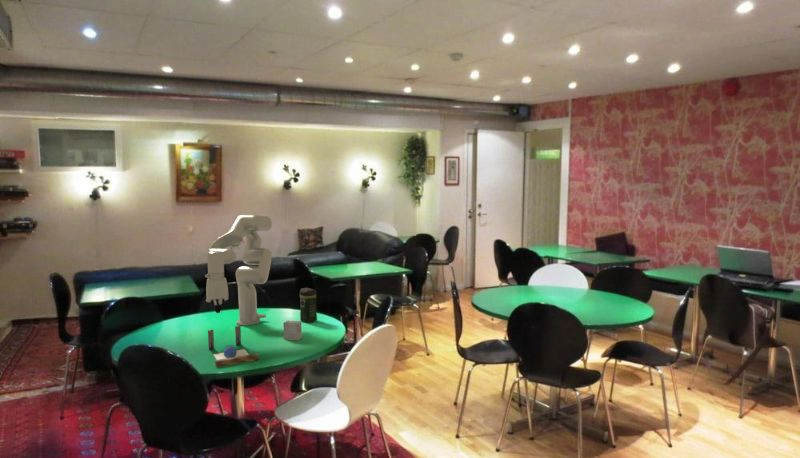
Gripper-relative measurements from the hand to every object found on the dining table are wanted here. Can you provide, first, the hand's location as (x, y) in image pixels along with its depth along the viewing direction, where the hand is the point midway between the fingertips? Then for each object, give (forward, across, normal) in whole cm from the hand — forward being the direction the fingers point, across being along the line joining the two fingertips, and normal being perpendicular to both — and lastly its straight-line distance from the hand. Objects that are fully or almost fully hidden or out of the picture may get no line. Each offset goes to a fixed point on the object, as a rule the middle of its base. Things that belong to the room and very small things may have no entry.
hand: (217, 312), depth 272 cm
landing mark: (+13, 0, -31) cm, 34 cm away
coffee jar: (+14, +50, +9) cm, 53 cm away
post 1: (+13, -6, -15) cm, 21 cm away
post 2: (+13, +6, -15) cm, 21 cm away
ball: (+11, -1, -33) cm, 35 cm away
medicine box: (+14, +32, -19) cm, 40 cm away
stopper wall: (+13, 0, -41) cm, 43 cm away
